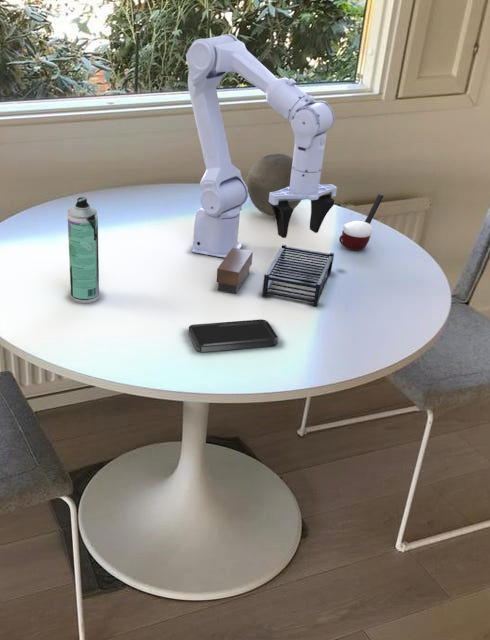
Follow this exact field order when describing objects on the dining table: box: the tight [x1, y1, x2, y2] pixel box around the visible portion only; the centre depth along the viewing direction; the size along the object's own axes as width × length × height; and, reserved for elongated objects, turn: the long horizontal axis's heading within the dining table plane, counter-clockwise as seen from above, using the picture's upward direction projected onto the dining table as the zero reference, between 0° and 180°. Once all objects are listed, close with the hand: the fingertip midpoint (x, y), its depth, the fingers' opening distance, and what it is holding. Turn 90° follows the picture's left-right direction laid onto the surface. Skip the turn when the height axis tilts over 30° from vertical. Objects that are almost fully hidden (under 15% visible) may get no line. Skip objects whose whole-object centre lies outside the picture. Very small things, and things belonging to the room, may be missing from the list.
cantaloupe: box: [246, 153, 302, 217], centre depth 185 cm, size 14×14×15 cm
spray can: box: [67, 196, 100, 304], centre depth 144 cm, size 6×6×20 cm
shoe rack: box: [261, 243, 335, 308], centre depth 156 cm, size 11×16×5 cm
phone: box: [188, 318, 279, 353], centre depth 138 cm, size 8×1×15 cm
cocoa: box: [338, 192, 384, 251], centre depth 171 cm, size 10×6×12 cm, turn 95°
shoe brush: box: [216, 248, 254, 295], centre depth 156 cm, size 4×11×5 cm, turn 161°
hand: (298, 233), depth 155 cm, fingers open, 7 cm apart
